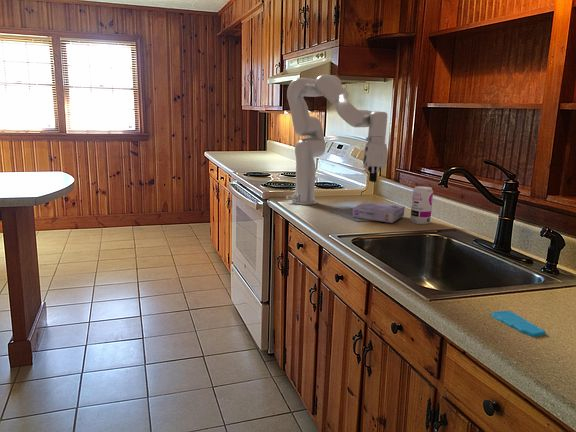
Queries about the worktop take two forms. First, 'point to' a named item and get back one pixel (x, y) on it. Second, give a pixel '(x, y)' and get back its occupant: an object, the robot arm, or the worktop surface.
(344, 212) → the mat
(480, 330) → the worktop surface
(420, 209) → the supplement can
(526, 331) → the sponge
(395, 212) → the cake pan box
